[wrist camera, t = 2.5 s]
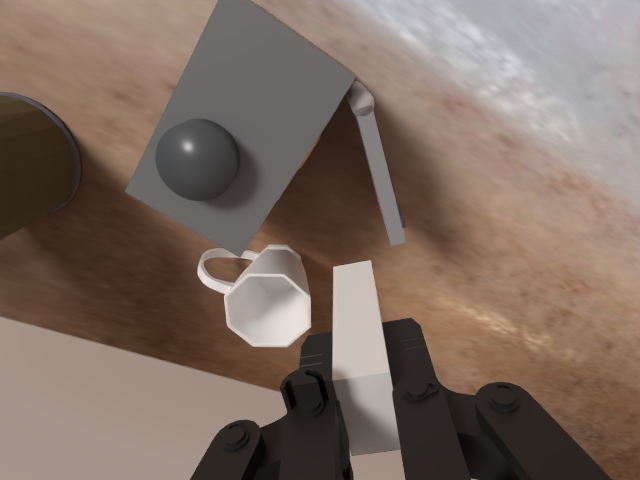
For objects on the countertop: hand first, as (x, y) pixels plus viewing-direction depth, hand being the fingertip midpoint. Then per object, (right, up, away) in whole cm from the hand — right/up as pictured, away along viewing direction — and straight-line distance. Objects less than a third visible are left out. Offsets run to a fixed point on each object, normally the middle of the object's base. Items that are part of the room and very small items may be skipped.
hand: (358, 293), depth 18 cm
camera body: (-6, +12, +18) cm, 22 cm away
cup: (-7, +1, +23) cm, 24 cm away
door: (+2, +10, +17) cm, 20 cm away
